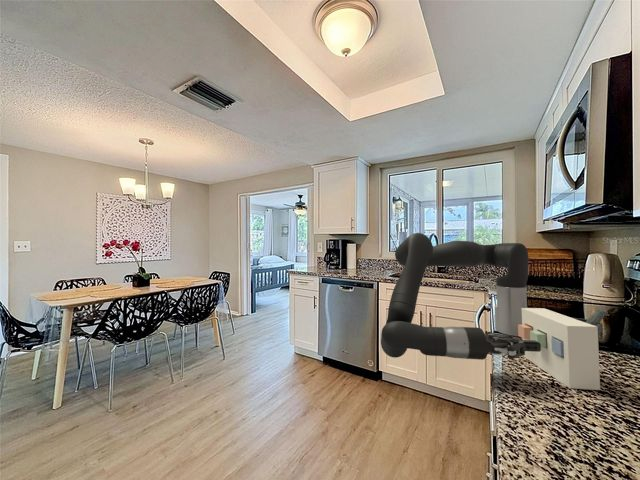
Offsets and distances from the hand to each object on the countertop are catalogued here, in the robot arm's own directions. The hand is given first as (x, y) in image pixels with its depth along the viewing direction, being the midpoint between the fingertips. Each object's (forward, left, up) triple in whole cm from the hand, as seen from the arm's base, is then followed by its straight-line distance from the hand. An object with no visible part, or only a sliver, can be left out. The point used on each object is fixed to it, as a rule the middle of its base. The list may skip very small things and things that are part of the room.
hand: (538, 346), depth 67 cm
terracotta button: (-7, +10, -2) cm, 13 cm away
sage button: (-3, +6, -2) cm, 7 cm away
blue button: (+3, +4, -2) cm, 5 cm away
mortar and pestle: (-4, +43, -8) cm, 43 cm away
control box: (0, +10, -8) cm, 12 cm away
